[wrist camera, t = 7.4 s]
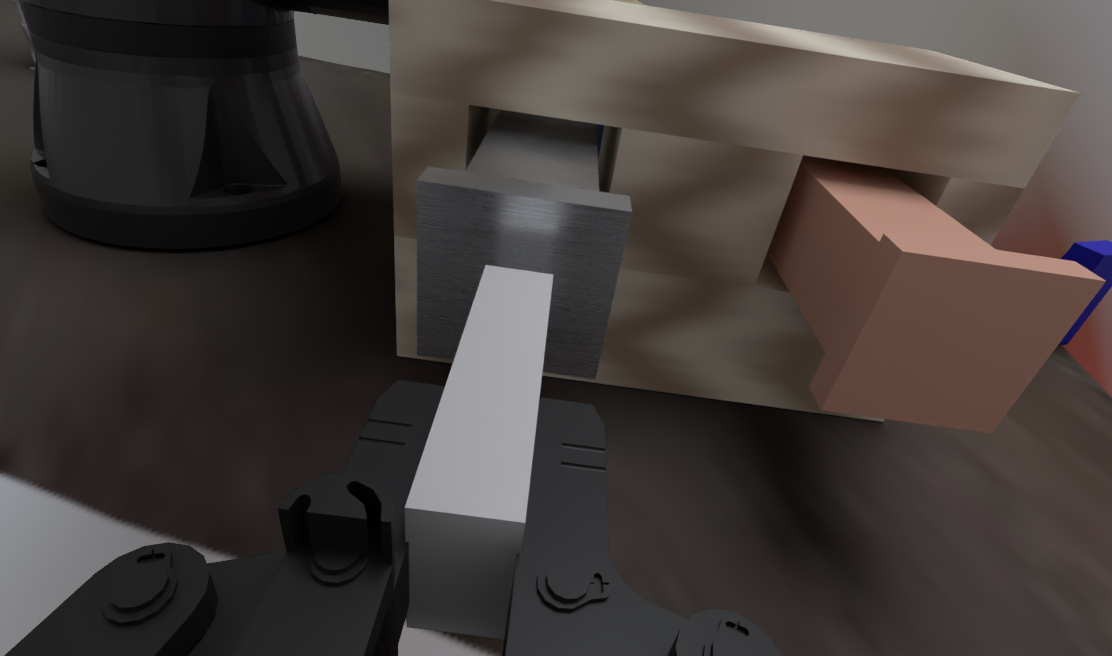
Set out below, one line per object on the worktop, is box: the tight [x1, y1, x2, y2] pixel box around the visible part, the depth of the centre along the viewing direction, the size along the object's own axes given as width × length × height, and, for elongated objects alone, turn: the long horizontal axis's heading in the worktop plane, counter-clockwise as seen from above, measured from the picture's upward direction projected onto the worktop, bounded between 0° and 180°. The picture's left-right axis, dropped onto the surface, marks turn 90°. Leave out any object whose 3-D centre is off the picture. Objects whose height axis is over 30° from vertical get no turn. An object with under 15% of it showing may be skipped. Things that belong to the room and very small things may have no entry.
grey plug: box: [417, 109, 632, 379], centre depth 19 cm, size 5×12×5 cm, turn 177°
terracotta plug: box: [767, 155, 1106, 433], centre depth 20 cm, size 5×12×5 cm, turn 177°
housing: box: [389, 0, 1081, 422], centre depth 24 cm, size 21×9×14 cm, turn 87°
